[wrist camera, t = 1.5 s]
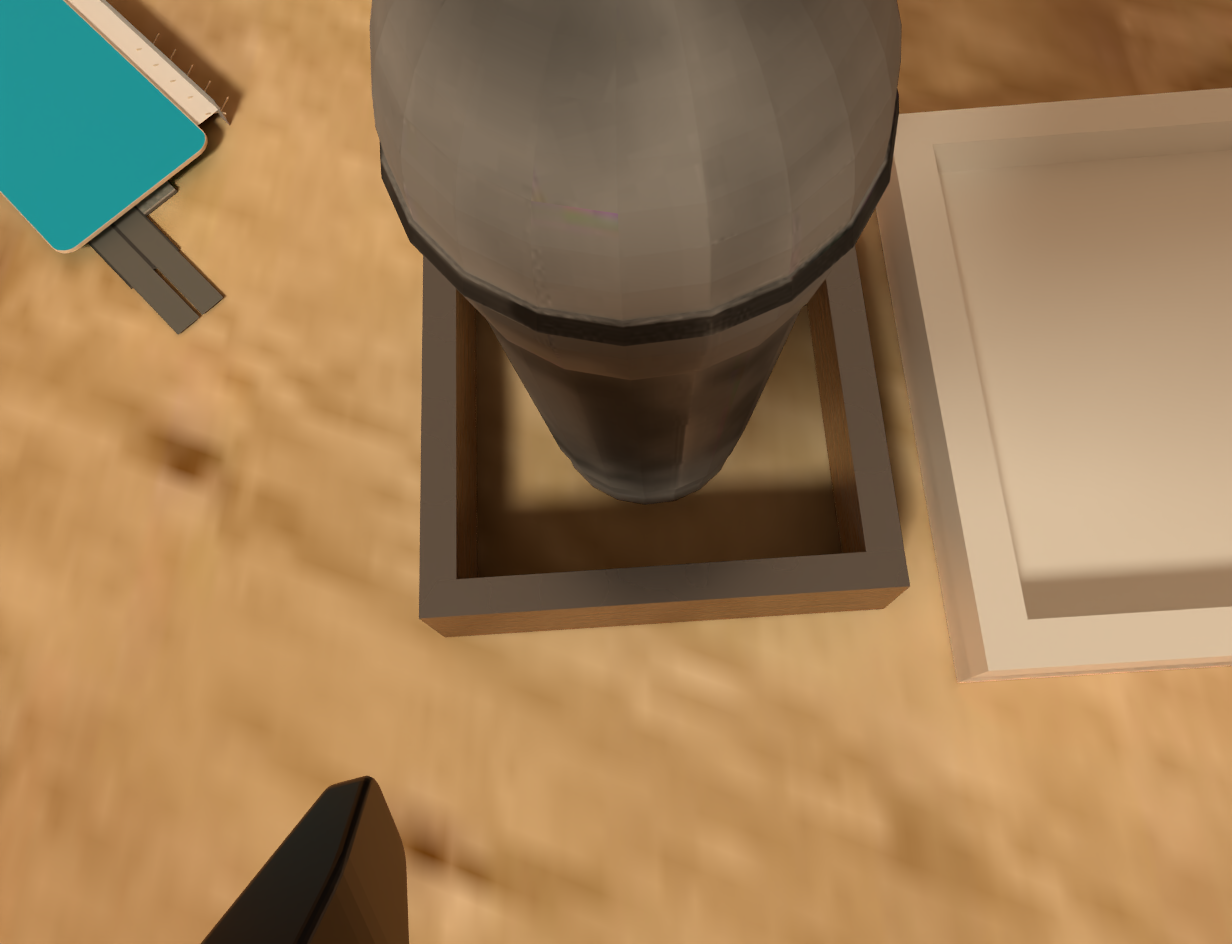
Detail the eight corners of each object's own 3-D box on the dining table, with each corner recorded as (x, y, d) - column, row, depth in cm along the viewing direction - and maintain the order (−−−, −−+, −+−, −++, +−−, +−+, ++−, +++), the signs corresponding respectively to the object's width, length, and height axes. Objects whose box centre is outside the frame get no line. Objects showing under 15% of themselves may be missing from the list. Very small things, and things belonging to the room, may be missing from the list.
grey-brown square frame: (826, 228, 26) (843, 171, 23) (884, 608, 22) (910, 586, 20) (446, 257, 26) (424, 203, 23) (444, 637, 22) (418, 618, 20)
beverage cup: (460, 502, 24) (-366, -695, 5) (567, 261, 26) (297, -1239, 7) (740, 601, 22) (1146, -450, 4) (828, 340, 24) (1378, -1197, 6)
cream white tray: (1384, 129, 26) (1447, 70, 24) (1585, 643, 21) (1686, 627, 19) (869, 169, 26) (886, 115, 24) (956, 682, 22) (988, 670, 19)
